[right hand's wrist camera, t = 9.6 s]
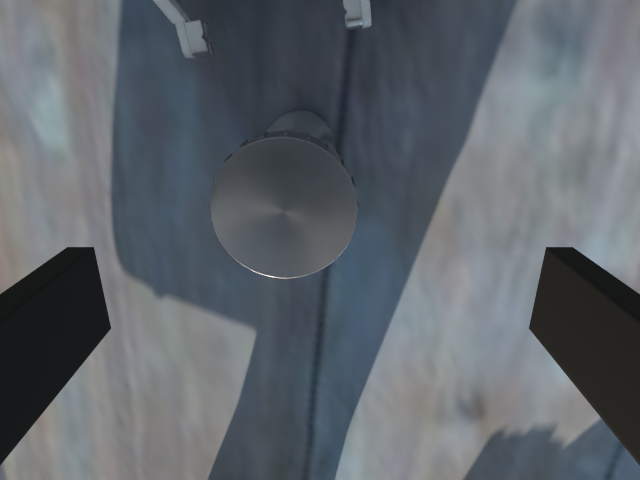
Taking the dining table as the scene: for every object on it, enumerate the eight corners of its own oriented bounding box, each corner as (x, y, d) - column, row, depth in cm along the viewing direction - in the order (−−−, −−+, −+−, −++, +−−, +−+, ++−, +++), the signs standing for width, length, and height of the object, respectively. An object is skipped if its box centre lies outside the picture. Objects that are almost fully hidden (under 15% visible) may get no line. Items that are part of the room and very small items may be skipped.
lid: (355, 125, 18) (359, 131, 16) (356, 259, 20) (359, 278, 19) (210, 131, 18) (198, 137, 16) (227, 263, 20) (217, 282, 19)
